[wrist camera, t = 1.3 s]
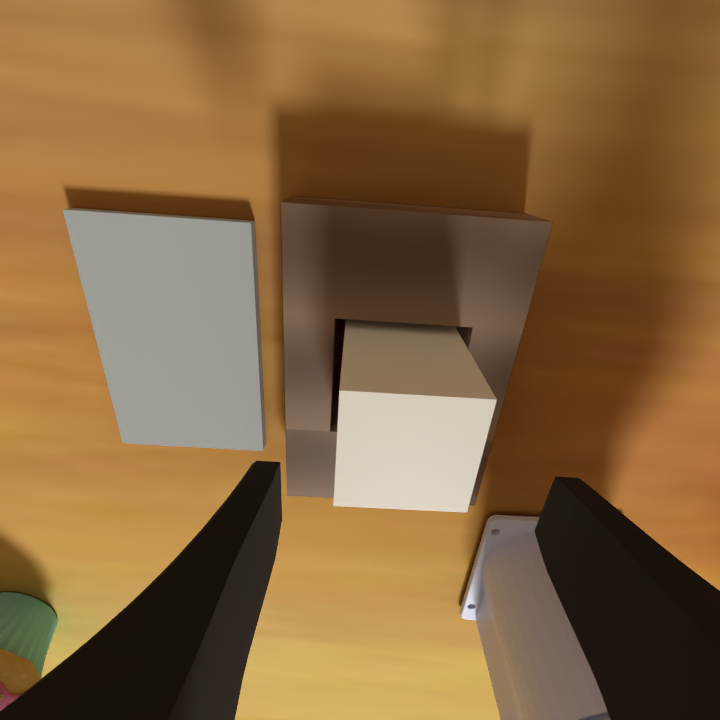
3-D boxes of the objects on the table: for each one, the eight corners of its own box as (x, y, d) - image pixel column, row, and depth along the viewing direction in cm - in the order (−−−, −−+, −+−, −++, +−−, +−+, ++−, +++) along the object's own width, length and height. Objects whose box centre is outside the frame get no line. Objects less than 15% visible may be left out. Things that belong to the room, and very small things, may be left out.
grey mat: (265, 443, 20) (263, 451, 20) (128, 435, 20) (122, 443, 20) (254, 220, 15) (251, 223, 15) (73, 207, 15) (62, 209, 15)
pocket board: (462, 468, 21) (474, 505, 19) (295, 459, 21) (287, 495, 19) (524, 213, 15) (553, 222, 13) (292, 196, 15) (281, 202, 13)
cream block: (432, 398, 19) (467, 512, 13) (342, 393, 19) (333, 506, 13) (447, 313, 17) (496, 399, 11) (346, 306, 17) (339, 390, 11)
